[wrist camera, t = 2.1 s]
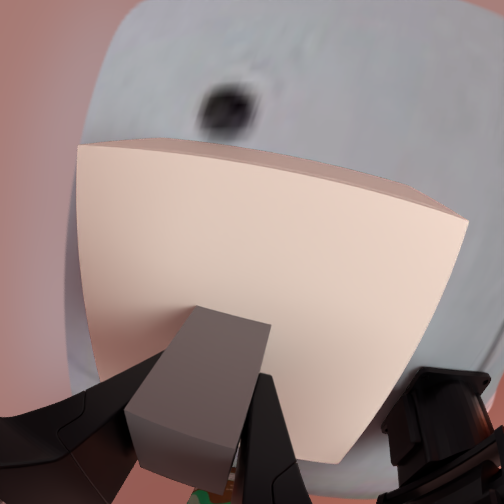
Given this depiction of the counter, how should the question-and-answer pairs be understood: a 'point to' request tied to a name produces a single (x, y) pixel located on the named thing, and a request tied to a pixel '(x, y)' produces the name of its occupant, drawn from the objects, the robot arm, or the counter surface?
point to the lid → (251, 298)
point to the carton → (283, 165)
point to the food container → (203, 500)
